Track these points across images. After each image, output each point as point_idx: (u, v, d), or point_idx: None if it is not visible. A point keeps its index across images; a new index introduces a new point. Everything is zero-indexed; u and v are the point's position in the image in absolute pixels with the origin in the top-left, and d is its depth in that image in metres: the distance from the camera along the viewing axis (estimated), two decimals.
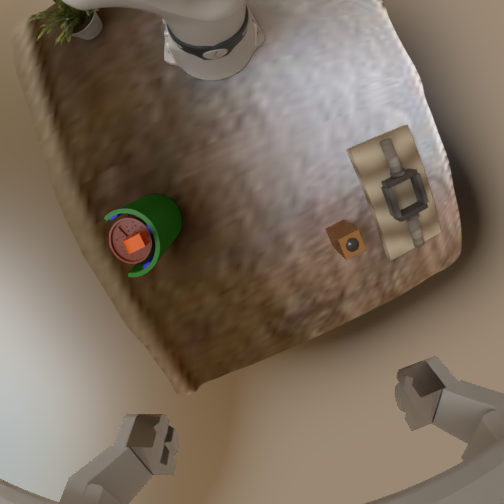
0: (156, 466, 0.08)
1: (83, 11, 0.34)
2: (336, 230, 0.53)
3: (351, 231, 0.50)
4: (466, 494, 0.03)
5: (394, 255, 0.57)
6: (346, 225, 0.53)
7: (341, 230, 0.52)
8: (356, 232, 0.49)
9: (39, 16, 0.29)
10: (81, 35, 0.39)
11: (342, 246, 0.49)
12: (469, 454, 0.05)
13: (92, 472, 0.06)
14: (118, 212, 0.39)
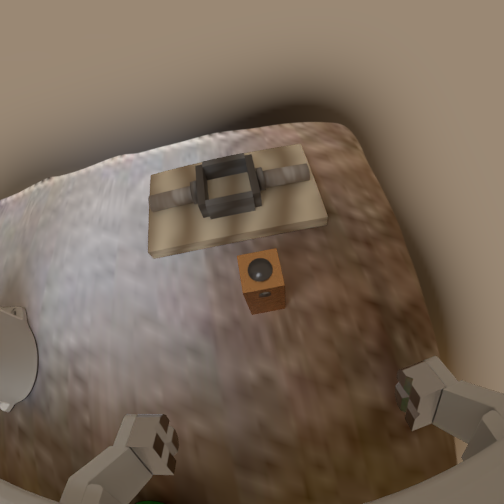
0: (156, 466, 0.08)
1: None
2: None
3: None
4: (466, 494, 0.03)
5: (320, 210, 0.39)
6: None
7: None
8: (240, 259, 0.30)
9: None
10: None
11: (257, 287, 0.28)
12: (469, 454, 0.05)
13: (92, 472, 0.06)
14: None
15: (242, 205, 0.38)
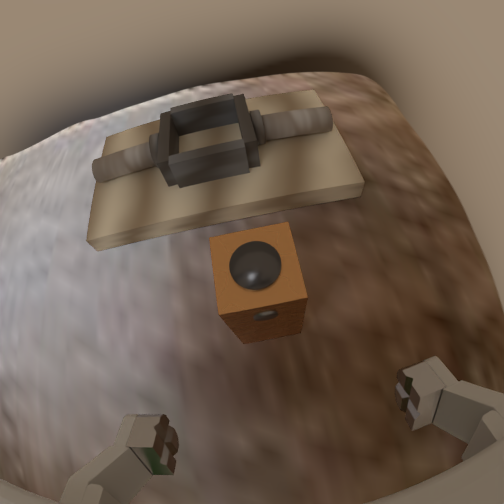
0: (156, 466, 0.08)
1: None
2: None
3: None
4: (466, 494, 0.03)
5: (352, 173, 0.23)
6: None
7: None
8: (216, 245, 0.15)
9: None
10: None
11: (249, 303, 0.13)
12: (469, 454, 0.05)
13: (92, 472, 0.06)
14: None
15: (228, 163, 0.23)
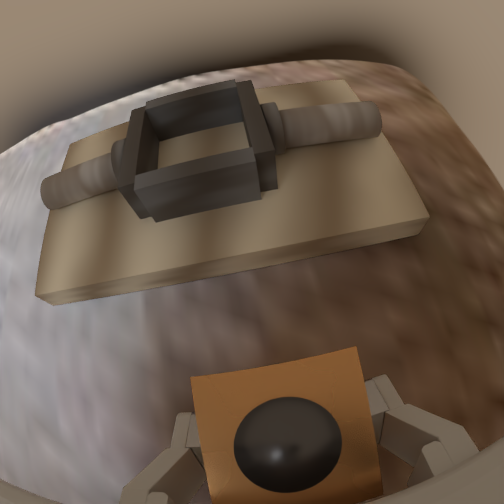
0: None
1: None
2: None
3: None
4: (466, 494, 0.03)
5: (411, 202, 0.15)
6: None
7: None
8: (205, 396, 0.06)
9: None
10: None
11: None
12: (412, 482, 0.05)
13: (151, 479, 0.06)
14: None
15: (228, 185, 0.15)
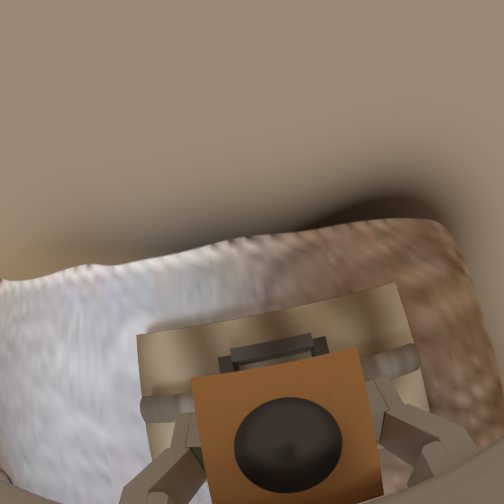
0: None
1: None
2: None
3: None
4: (466, 494, 0.03)
5: None
6: None
7: None
8: (206, 397, 0.06)
9: None
10: None
11: None
12: (413, 482, 0.05)
13: (151, 479, 0.06)
14: None
15: None
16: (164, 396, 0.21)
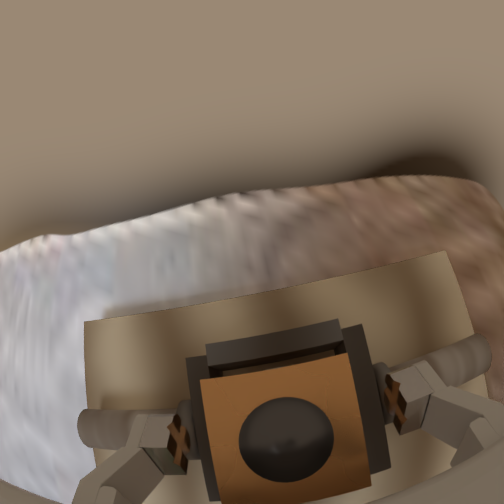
0: (169, 466, 0.08)
1: None
2: None
3: None
4: (466, 494, 0.03)
5: None
6: None
7: None
8: (213, 397, 0.07)
9: None
10: None
11: (275, 499, 0.06)
12: (457, 461, 0.05)
13: (104, 474, 0.06)
14: None
15: None
16: (110, 412, 0.13)
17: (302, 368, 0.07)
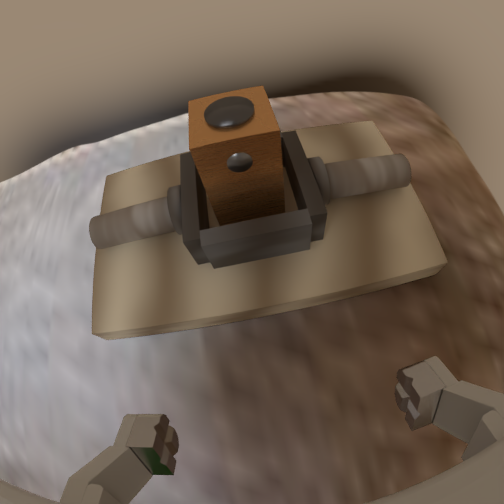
0: (156, 466, 0.08)
1: None
2: None
3: None
4: (466, 494, 0.03)
5: (433, 249, 0.17)
6: None
7: None
8: (194, 104, 0.14)
9: None
10: None
11: (220, 137, 0.12)
12: (469, 454, 0.05)
13: (92, 472, 0.06)
14: None
15: (284, 241, 0.17)
16: None
17: (239, 91, 0.14)
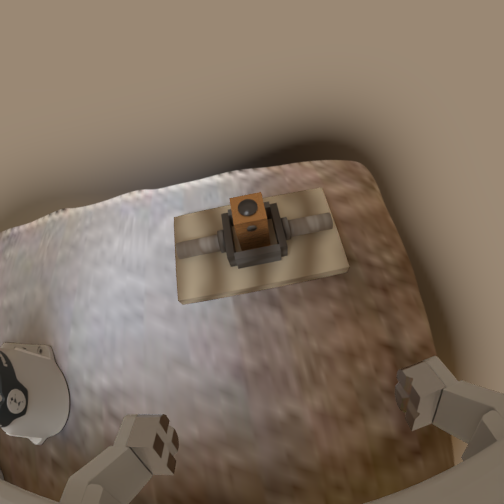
0: (156, 466, 0.08)
1: None
2: None
3: None
4: (466, 494, 0.03)
5: (342, 260, 0.40)
6: None
7: None
8: (232, 201, 0.37)
9: None
10: None
11: (245, 220, 0.36)
12: (469, 454, 0.05)
13: (92, 472, 0.06)
14: None
15: (269, 257, 0.40)
16: (190, 240, 0.43)
17: (251, 195, 0.37)
